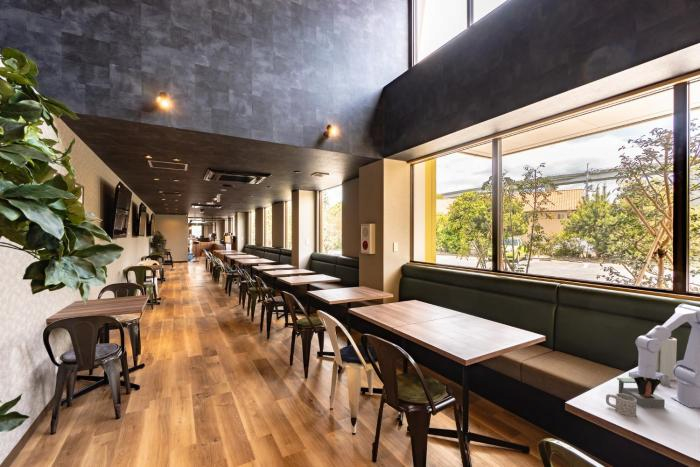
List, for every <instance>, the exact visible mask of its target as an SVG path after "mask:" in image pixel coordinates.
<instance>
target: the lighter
mask: <svg viewBox="0 0 700 467" xmlns="http://www.w3.org/2000/svg"><path fill="white" fill-rule="evenodd" d="M656 372H658V371H657V370H656ZM664 375H665V379H662V378H658V379H659V380H660V381H661V383H660V384H659V385H661V386H666V387H669V388H670V387H671V380H670V377H668V375H666V374H664Z"/></svg>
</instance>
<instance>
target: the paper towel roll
mask: <svg viewBox="0 0 700 467" xmlns="http://www.w3.org/2000/svg"><path fill="white" fill-rule="evenodd" d="M677 342H678V339H677V338H675V337H671V336H670V337H669V338H668V339H666V340H665V341H664V342H663V343H662V345H661V348H660V350H659V351H657V352H656V370H657V371H658V373H662V374H666V375H668V377H670V381H675V380H676V377H675V376H674V375H673V368H674V367H675V366H676V363H677V348H678V346H677V345H678V344H677Z"/></svg>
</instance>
